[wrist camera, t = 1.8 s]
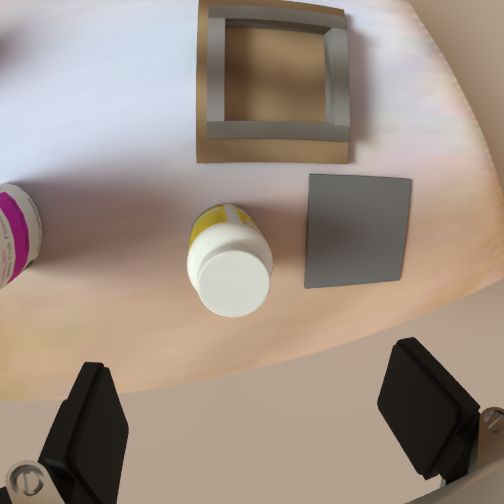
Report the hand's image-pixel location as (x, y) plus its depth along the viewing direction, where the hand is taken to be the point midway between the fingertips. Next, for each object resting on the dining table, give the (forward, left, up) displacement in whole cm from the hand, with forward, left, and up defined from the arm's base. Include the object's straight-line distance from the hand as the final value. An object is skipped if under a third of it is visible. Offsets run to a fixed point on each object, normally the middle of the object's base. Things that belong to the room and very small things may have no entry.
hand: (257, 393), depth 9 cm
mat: (0, +12, -18) cm, 22 cm away
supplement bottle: (0, 0, -18) cm, 18 cm away
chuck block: (-13, +4, -18) cm, 23 cm away
